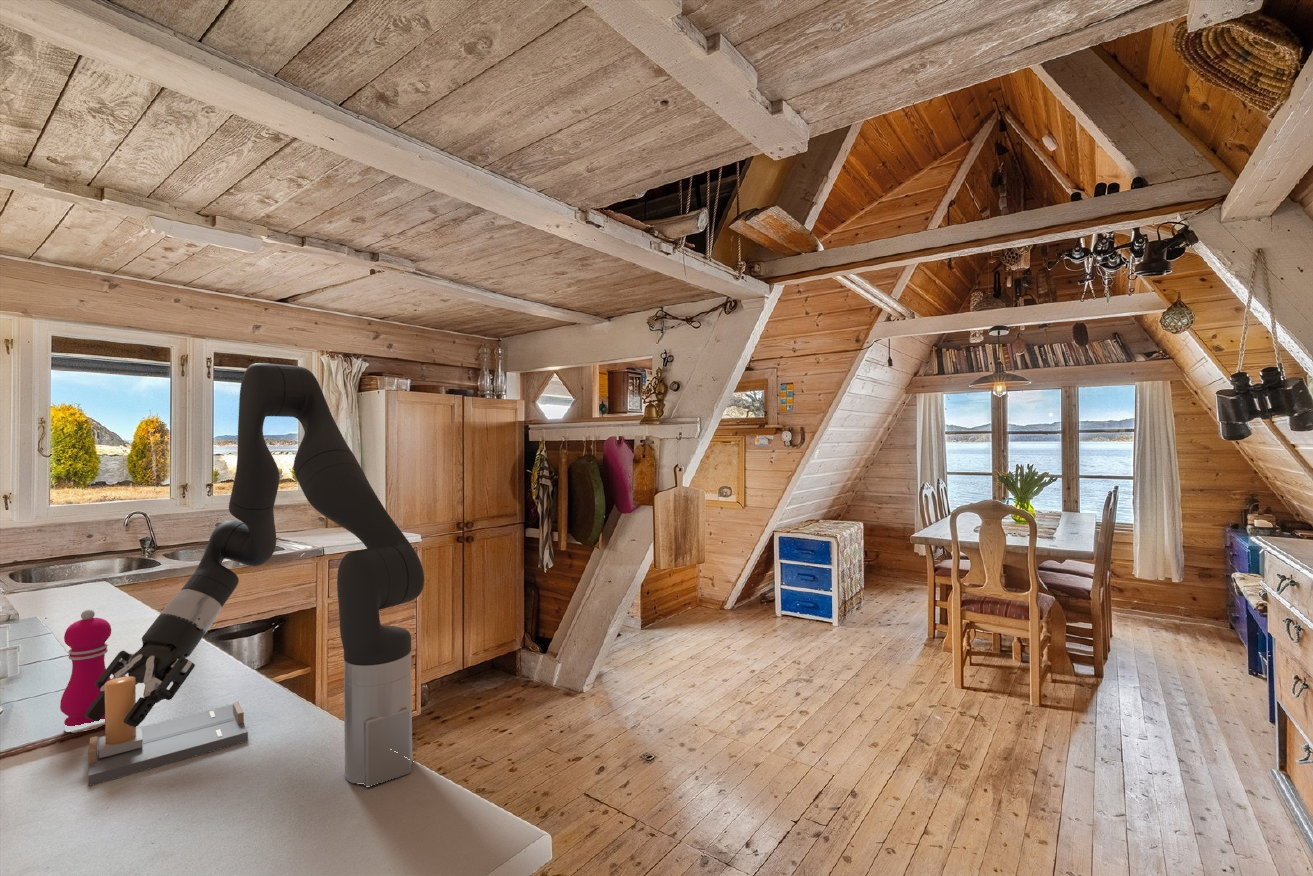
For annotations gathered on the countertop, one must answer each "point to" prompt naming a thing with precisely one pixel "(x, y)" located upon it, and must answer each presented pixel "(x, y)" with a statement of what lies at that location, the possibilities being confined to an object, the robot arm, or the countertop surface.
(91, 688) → the pepper mill
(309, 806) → the countertop surface
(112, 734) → the fader
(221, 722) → the fader track
